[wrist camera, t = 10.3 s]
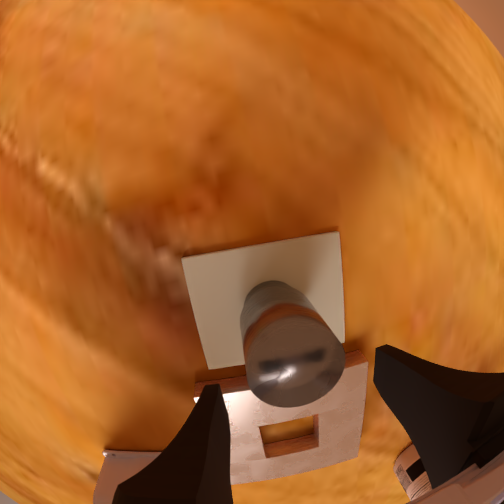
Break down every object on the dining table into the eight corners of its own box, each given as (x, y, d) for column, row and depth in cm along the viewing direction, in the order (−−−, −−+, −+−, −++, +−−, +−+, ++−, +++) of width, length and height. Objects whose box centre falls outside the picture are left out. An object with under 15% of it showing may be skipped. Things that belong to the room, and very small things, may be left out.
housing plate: (229, 471, 25) (229, 484, 23) (195, 382, 22) (193, 397, 20) (351, 445, 26) (357, 456, 24) (358, 349, 23) (368, 361, 21)
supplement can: (438, 423, 28) (494, 491, 13) (438, 448, 30) (482, 507, 15) (388, 455, 28) (435, 534, 13) (393, 475, 30) (431, 542, 15)
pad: (208, 366, 22) (208, 369, 21) (182, 257, 20) (181, 259, 19) (342, 339, 22) (344, 342, 22) (336, 231, 20) (339, 232, 20)
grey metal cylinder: (244, 341, 21) (255, 415, 13) (232, 281, 20) (237, 338, 12) (307, 329, 21) (345, 394, 13) (300, 269, 20) (344, 316, 12)
